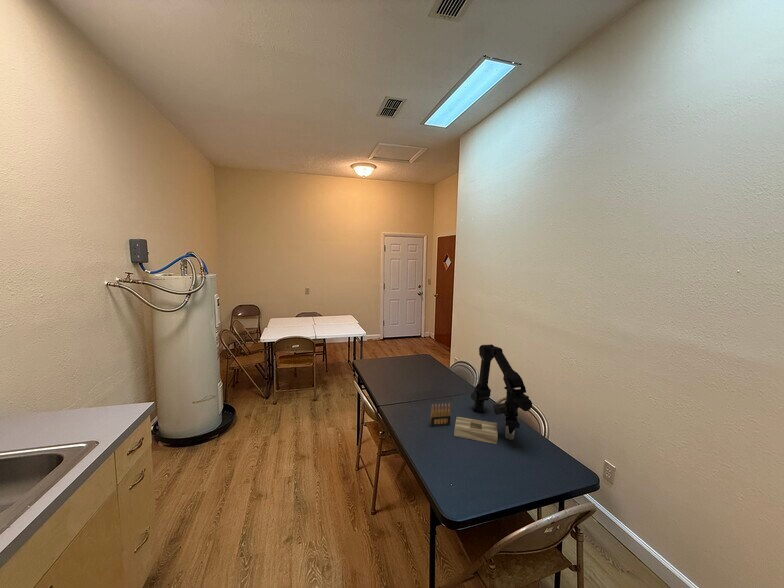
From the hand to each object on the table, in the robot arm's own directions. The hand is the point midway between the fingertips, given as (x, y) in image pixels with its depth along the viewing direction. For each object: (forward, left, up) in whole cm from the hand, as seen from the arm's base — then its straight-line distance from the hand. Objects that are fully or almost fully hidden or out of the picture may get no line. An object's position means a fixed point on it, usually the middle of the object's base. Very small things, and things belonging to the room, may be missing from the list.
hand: (509, 431), depth 155 cm
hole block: (+2, -16, -3) cm, 16 cm away
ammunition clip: (0, -34, -3) cm, 34 cm away
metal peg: (0, 0, -3) cm, 3 cm away
